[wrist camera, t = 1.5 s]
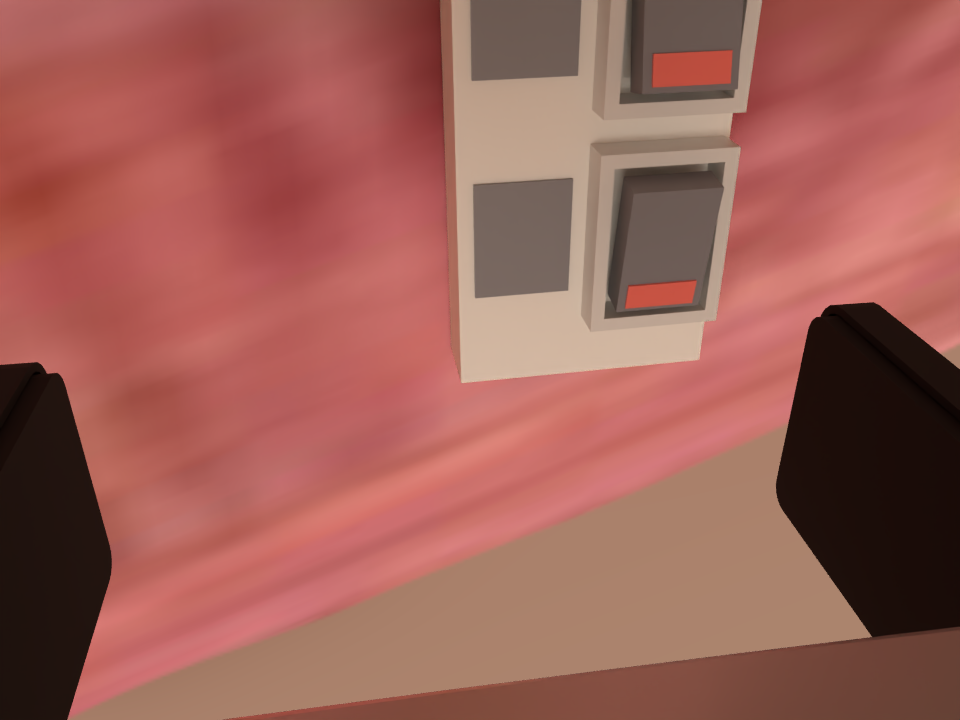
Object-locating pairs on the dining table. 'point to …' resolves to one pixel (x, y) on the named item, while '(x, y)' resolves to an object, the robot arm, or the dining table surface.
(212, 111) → the dining table surface
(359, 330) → the dining table surface
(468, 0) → the power strip
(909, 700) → the robot arm
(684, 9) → the rocker middle
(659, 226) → the rocker
